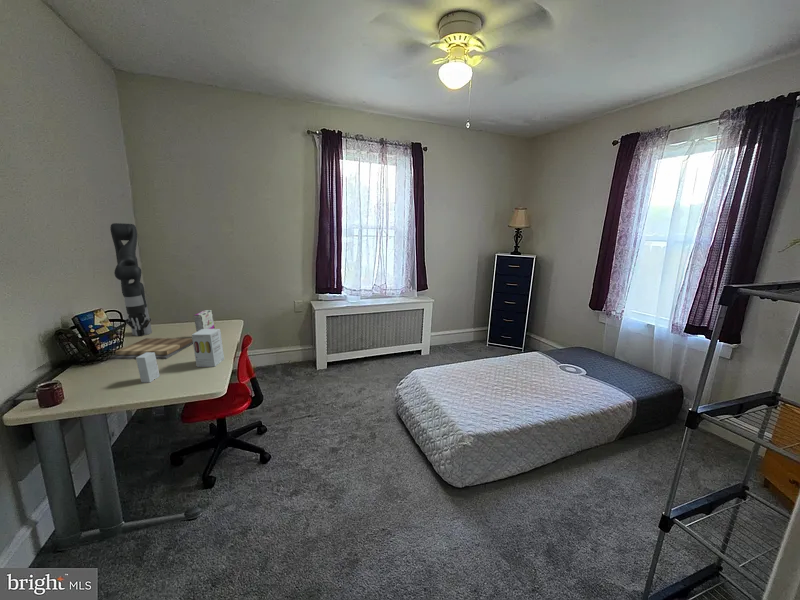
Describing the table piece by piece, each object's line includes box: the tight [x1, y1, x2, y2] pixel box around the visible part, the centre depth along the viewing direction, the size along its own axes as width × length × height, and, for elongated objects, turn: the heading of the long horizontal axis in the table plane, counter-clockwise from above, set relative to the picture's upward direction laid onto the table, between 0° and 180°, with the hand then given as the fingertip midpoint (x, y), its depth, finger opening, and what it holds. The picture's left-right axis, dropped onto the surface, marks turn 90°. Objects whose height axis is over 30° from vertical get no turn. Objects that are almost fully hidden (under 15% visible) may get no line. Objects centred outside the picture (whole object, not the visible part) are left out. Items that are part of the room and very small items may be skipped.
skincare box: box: [135, 352, 161, 383], centre depth 148 cm, size 6×4×12 cm
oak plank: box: [115, 344, 180, 355], centre depth 179 cm, size 28×10×2 cm, turn 88°
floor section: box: [109, 337, 193, 360], centre depth 184 cm, size 30×24×3 cm
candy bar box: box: [193, 309, 216, 332], centre depth 201 cm, size 11×5×16 cm, turn 179°
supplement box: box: [191, 328, 225, 368], centre depth 164 cm, size 10×9×17 cm
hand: (141, 335), depth 175 cm, fingers closed
